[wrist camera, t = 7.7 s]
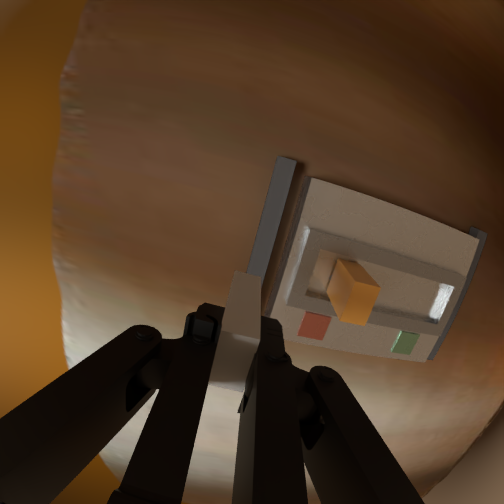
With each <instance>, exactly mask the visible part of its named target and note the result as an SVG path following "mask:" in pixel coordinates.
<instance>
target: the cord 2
mask: <svg viewBox="0 0 504 504" xmlns="http://www.w3.org/2000/svg"><path fill="white" fill-rule="evenodd" d="M468 235H470V236H472V237H475V238H477V239H479V243H478V246H477V249H476V252H475V255H474V258H473V260H472V263H471V266H470V268H469V271H468V274H467V276H466V278H467V279H466V281H465V284H464V286H463V289H462V291H461V293H460V296H459V298H458V300H457V303H456V305H455V307H454V309H453V311H452V314H451V316H450V318H449V320H448V322H447V324H446V326H445V328H444V330H443V332H442V334H441V336H439V338H438V340H437V341H436V343H435V345H434V347H433V349H432V351H431V353H430V354H429V356H428V358H427V359H428V360H433V359H434V357H435V355H436V353H437V351H438V350H439V348H440V346H441V344H442V342H443V340H444V338H445V336H446V335H447V333H448V331H449V329H450V327H451V325H452V323H453V321H454V318H455V316H456V314H457V312H458V310H459V308H460V306H461V303H462V301H463V299H464V297H465V294H466V292H467V290H468V287H469V285H470V282H471V280H472V277H473V275H474V272H475V269H476V267H477V264H478V261H479V259H480V256H481V253H482V250H483V247H484V244H485V241H486V238H487V235H488V234H487V233H485V232H483V231H481V230H479V229H476V228H474V227H471V228H470V231H469V234H468Z"/></svg>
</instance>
